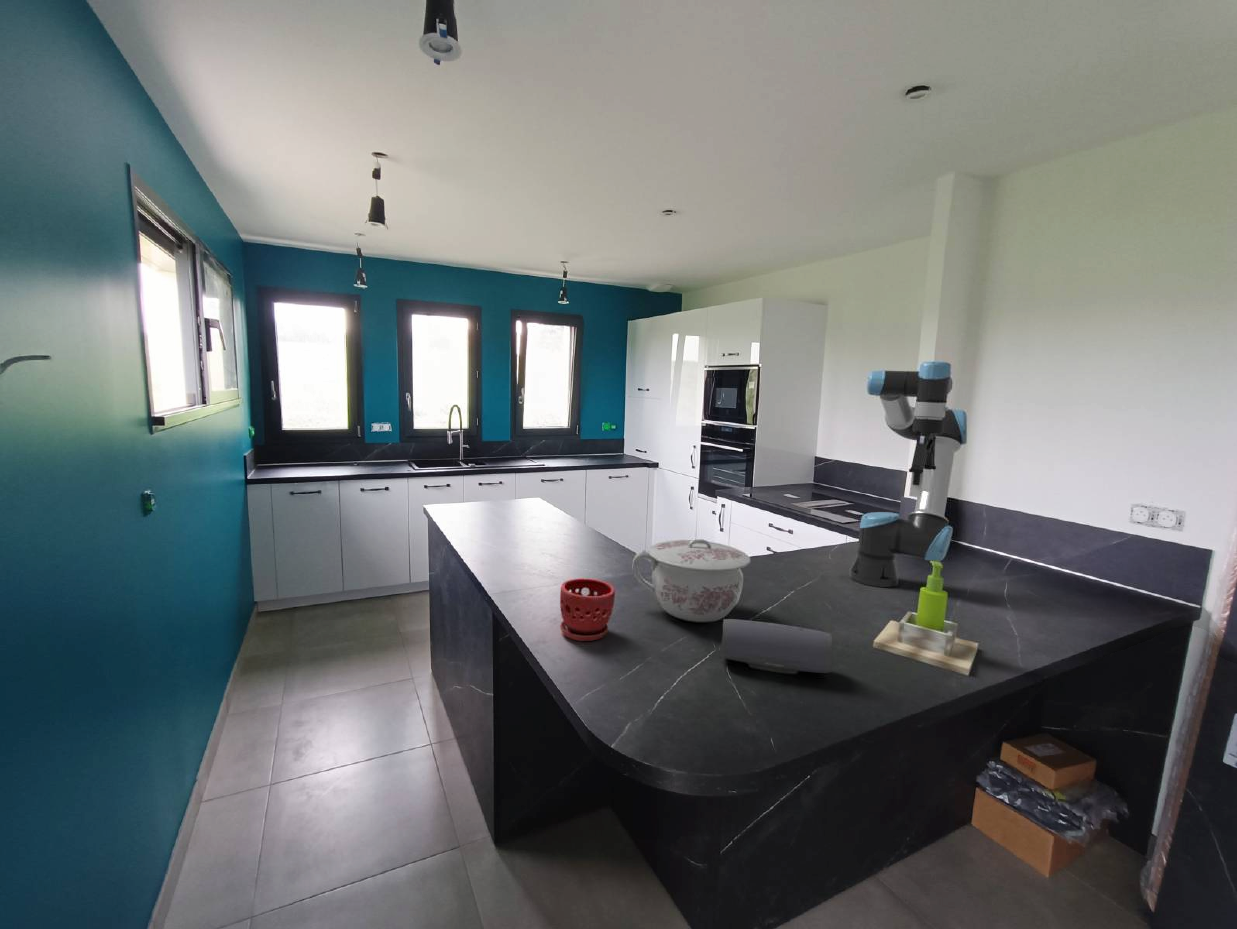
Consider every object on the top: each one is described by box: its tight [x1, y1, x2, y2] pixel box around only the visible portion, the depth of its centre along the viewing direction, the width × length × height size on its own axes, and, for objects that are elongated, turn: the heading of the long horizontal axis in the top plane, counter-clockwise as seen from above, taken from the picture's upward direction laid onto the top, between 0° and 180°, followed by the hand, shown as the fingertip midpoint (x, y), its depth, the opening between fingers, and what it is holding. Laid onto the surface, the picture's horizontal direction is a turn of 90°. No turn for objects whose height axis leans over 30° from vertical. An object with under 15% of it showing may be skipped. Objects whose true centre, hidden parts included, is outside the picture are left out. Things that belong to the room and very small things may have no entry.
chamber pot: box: [631, 538, 751, 623], centre depth 151 cm, size 28×28×21 cm
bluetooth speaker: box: [720, 618, 833, 675], centre depth 122 cm, size 23×9×10 cm, turn 77°
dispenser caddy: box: [872, 611, 979, 676], centre depth 136 cm, size 20×18×6 cm
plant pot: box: [559, 578, 616, 642], centre depth 134 cm, size 13×13×12 cm
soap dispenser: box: [916, 560, 949, 632], centre depth 136 cm, size 6×7×20 cm
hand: (919, 494), depth 156 cm, fingers open, 13 cm apart
